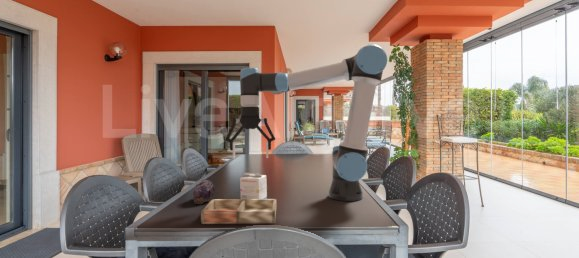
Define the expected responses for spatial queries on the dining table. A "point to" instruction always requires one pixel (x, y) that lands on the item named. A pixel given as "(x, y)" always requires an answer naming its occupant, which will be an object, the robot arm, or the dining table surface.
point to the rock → (203, 191)
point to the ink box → (253, 186)
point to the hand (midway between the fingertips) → (250, 158)
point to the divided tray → (239, 211)
